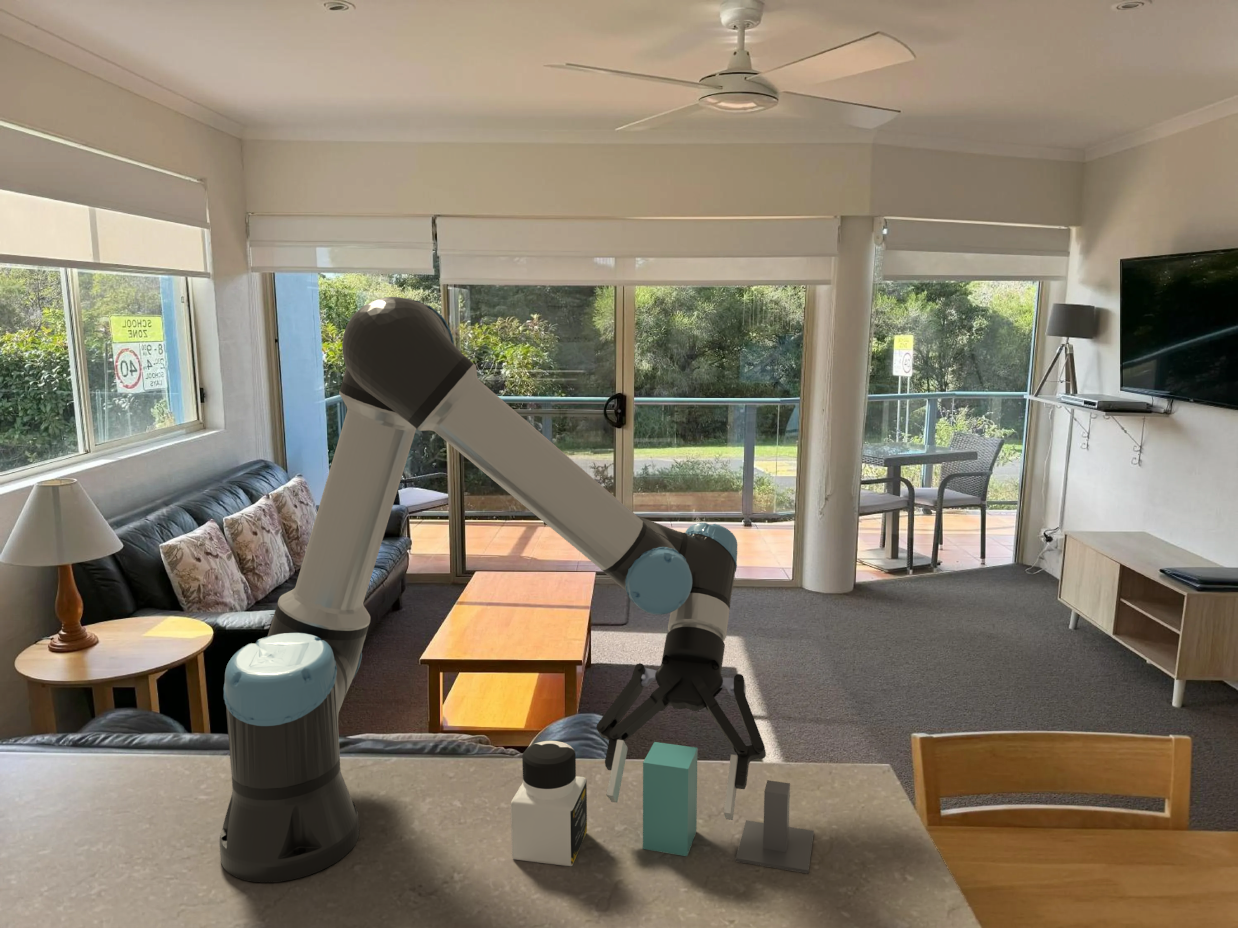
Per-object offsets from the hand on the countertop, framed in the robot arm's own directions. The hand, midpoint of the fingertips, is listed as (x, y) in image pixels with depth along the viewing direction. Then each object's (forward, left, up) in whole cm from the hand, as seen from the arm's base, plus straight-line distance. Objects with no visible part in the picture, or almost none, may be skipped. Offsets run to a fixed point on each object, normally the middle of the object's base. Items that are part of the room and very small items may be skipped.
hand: (668, 807), depth 101 cm
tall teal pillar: (0, +2, -5) cm, 5 cm away
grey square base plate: (+12, +4, -5) cm, 13 cm away
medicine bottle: (-13, -3, -5) cm, 15 cm away
